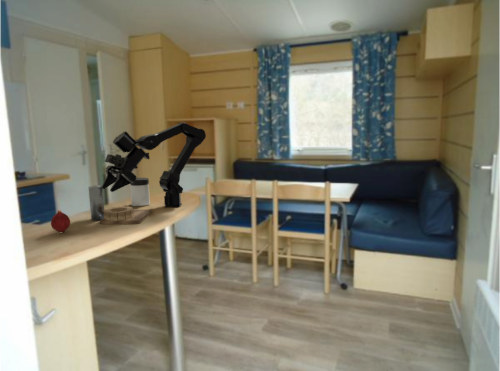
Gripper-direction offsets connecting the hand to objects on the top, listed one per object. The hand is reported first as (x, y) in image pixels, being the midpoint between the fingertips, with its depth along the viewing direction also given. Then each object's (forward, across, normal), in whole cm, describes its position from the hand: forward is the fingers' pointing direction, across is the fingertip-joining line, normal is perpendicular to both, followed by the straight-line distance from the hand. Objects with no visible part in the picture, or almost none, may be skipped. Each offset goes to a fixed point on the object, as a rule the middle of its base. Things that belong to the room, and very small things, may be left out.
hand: (106, 189), depth 140 cm
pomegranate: (+22, +10, -6) cm, 25 cm away
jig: (+4, +6, +12) cm, 14 cm away
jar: (-6, -14, +22) cm, 27 cm away
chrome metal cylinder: (+11, 0, +5) cm, 12 cm away
